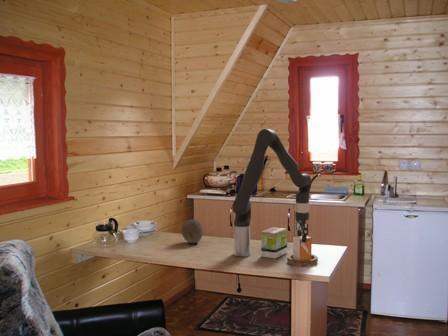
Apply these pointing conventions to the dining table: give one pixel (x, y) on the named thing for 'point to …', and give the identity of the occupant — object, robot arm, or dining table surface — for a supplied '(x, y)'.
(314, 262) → the tray
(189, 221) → the cantaloupe
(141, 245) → the dining table surface
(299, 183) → the robot arm
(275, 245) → the tea box
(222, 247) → the dining table surface
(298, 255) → the small box
